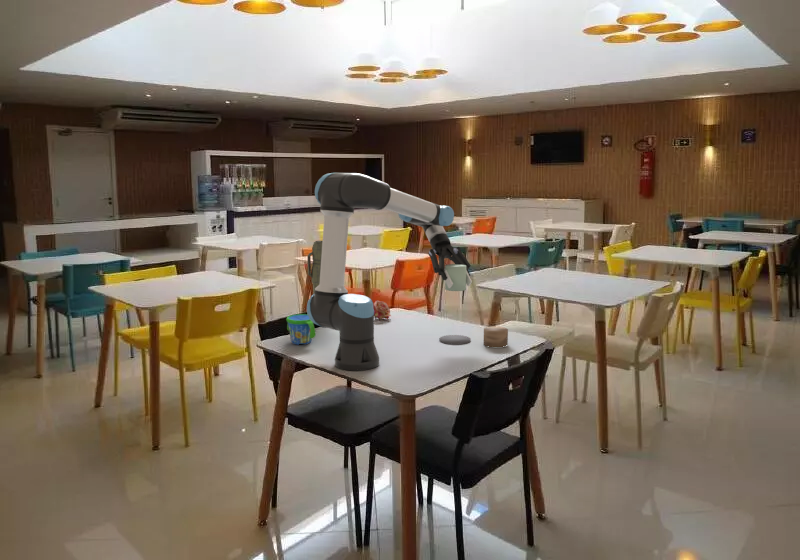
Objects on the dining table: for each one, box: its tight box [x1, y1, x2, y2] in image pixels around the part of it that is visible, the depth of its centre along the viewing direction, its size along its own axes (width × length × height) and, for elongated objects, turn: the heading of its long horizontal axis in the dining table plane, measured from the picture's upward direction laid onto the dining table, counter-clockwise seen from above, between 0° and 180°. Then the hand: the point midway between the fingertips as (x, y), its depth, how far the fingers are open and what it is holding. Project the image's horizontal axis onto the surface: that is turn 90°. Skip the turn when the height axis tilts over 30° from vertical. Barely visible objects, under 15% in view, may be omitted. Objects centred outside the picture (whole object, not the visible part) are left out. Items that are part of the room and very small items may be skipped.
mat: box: [439, 334, 471, 346], centre depth 253 cm, size 12×12×1 cm
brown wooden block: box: [483, 325, 509, 348], centre depth 246 cm, size 9×9×6 cm
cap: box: [444, 263, 467, 292], centre depth 249 cm, size 8×8×9 cm
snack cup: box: [285, 313, 317, 346], centre depth 250 cm, size 16×10×10 cm
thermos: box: [306, 240, 323, 295], centre depth 282 cm, size 9×12×35 cm
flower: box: [373, 299, 392, 321], centre depth 288 cm, size 10×9×8 cm
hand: (460, 285), depth 246 cm, fingers closed on cap, 8 cm apart
